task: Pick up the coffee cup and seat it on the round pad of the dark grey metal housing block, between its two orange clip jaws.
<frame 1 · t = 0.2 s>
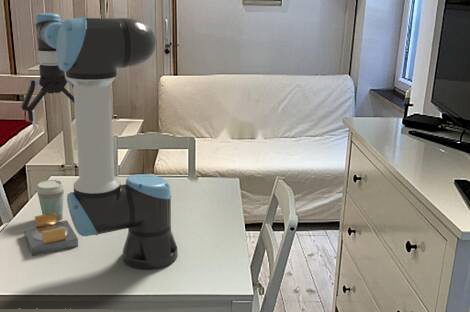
hand: (56, 128, 171), 27 cm above the table, fingers open, 13 cm apart
housing block: (51, 240, 153), on the table
coffee cup: (53, 219, 168), on the table
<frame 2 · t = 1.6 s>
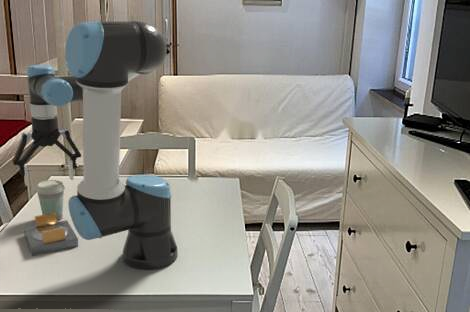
hand: (49, 181, 164), 13 cm above the table, fingers open, 13 cm apart
nothing on the table moved.
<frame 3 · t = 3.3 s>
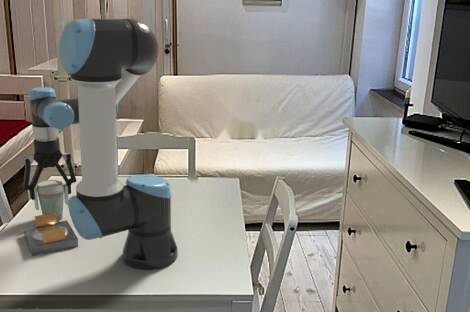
hand: (52, 205, 167), 4 cm above the table, fingers closed on coffee cup, 8 cm apart
coffee cup: (53, 219, 168), on the table, touching gripper
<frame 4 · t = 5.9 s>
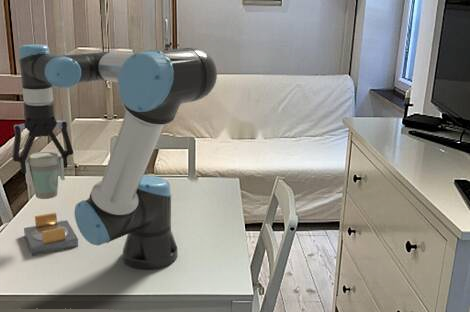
hand: (45, 181, 147), 19 cm above the table, fingers closed on coffee cup, 8 cm apart
coffee cup: (46, 196, 149), point 14 cm above the table, touching gripper
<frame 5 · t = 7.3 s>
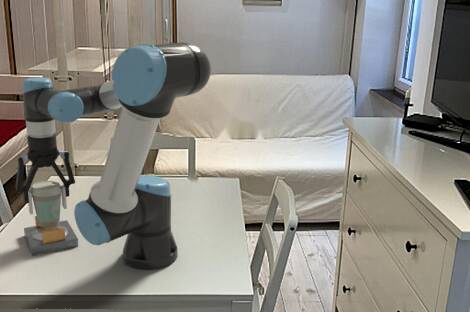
hand: (48, 209, 150), 10 cm above the table, fingers closed on coffee cup, 8 cm apart
coffee cup: (49, 224, 151), point 5 cm above the table, touching gripper
when the fingers open (8 cm above the table, at t = 8.5 s): coffee cup drops 1 cm, resting on housing block.
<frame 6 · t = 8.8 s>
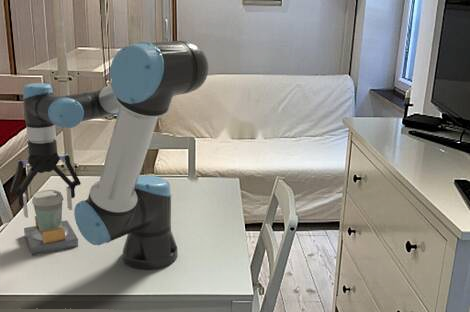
hand: (48, 212, 150), 9 cm above the table, fingers open, 11 cm apart
coffee cup: (50, 233, 152), point 3 cm above the table, touching housing block
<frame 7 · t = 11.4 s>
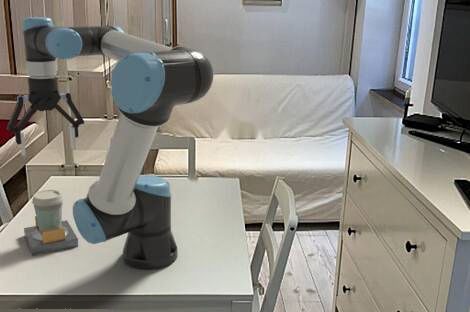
hand: (49, 151, 146), 27 cm above the table, fingers open, 13 cm apart
nothing on the table moved.
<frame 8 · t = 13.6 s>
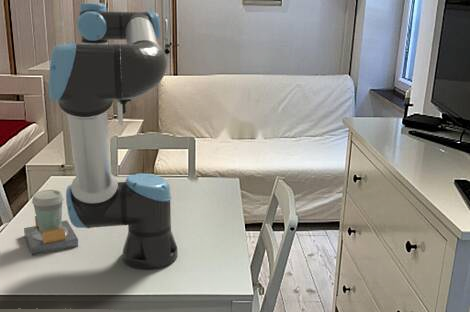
hand: (99, 126, 161), 31 cm above the table, fingers open, 13 cm apart
nothing on the table moved.
at the end: coffee cup 0.2 cm from the housing block (horizontally); coffee cup tilted 0°; the gripper is holding nothing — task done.
